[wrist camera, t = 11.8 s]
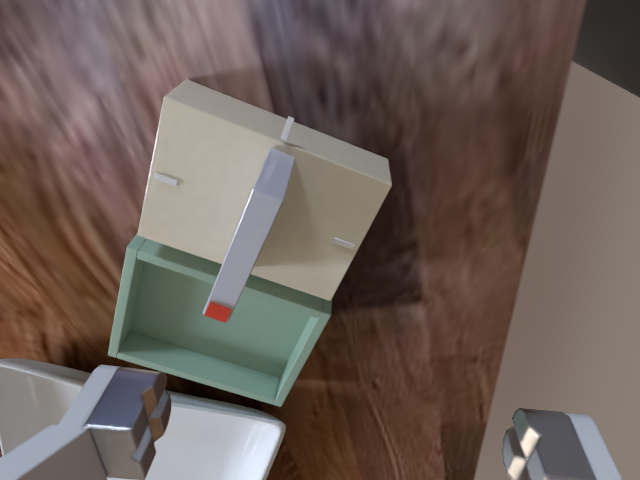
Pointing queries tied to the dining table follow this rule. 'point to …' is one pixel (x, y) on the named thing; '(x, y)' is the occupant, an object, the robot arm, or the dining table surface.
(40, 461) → the robot arm
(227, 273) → the spout
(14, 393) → the square plate
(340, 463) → the dining table surface
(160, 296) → the basin
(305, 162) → the block
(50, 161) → the dining table surface
